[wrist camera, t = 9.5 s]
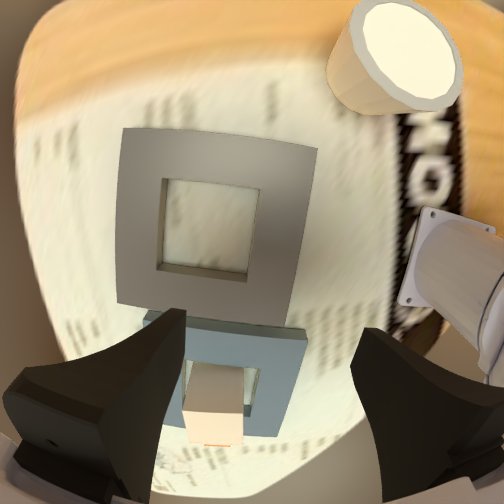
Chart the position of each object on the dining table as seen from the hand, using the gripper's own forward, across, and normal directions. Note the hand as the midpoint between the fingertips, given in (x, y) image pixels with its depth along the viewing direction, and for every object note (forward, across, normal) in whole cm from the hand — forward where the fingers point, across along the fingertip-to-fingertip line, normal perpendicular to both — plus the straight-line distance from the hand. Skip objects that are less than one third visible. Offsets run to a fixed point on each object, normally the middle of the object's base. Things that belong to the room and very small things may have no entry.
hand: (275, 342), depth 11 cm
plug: (+10, +2, +11) cm, 14 cm away
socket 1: (+9, +4, -2) cm, 10 cm away
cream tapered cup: (+10, -5, -14) cm, 18 cm away
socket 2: (+9, +2, +11) cm, 15 cm away
